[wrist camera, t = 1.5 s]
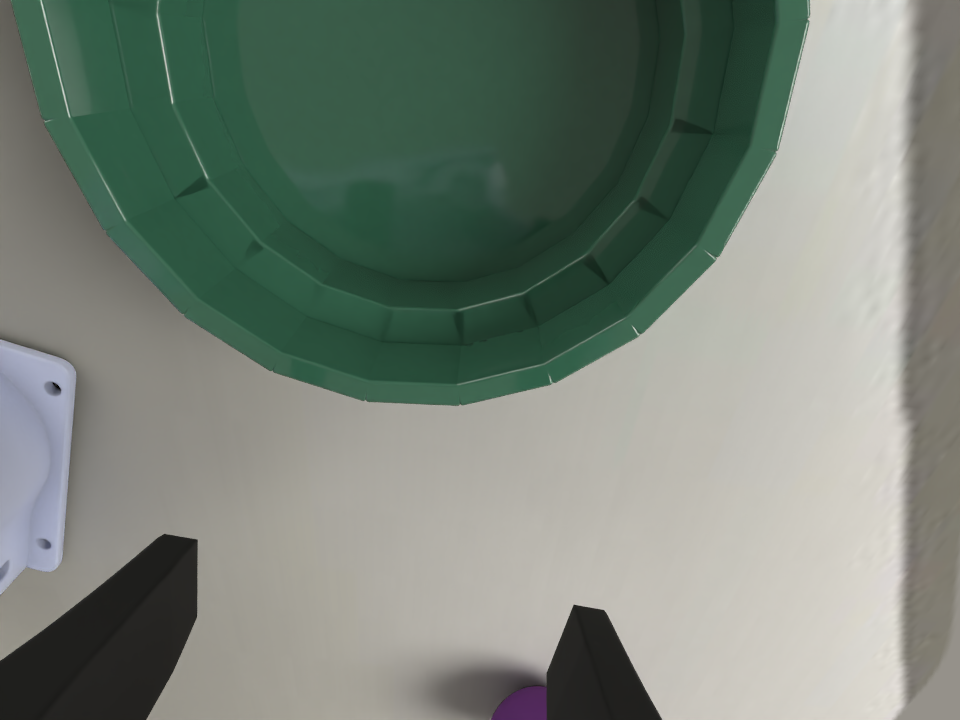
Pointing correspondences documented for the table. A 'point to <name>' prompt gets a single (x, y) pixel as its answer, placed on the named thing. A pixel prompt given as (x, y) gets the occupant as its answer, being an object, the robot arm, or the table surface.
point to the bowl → (417, 170)
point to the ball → (523, 705)
